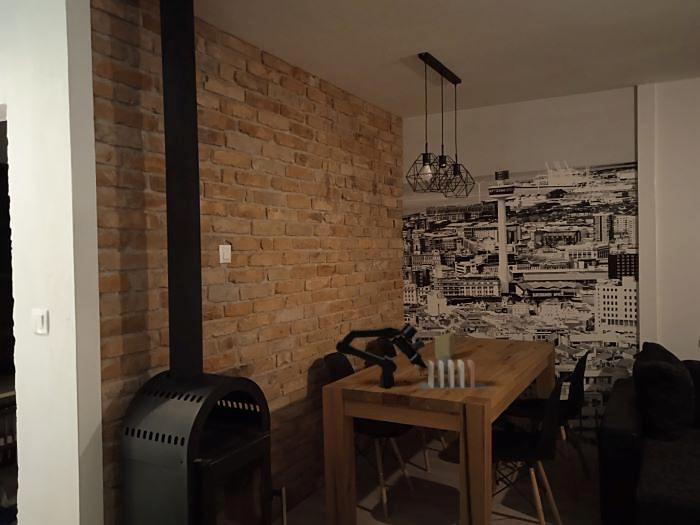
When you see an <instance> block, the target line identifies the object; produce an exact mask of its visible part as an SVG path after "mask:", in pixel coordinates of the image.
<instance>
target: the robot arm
mask: <svg viewBox="0 0 700 525" xmlns="http://www.w3.org/2000/svg"><path fill="white" fill-rule="evenodd" d="M418 332H419V331H418V330H417V328H416V327H415V326H414V325H413V324H411V323H410V322H409V321H407V323H405V325H404V326H403V327H402V328H396V327H395V326H391V325H387V326H382V327H380V328H379V327H378V328H369V329H368V328H367V329H366V328H365V329H351V330H350V331H349V332H348V333H347V334H346V335H345V336H344V337H343V338H342V339H339V340H338V341H337V343H336V346H335V351H337V353H340V354H342V355H350V356H354V357H356V358H359V359H362V360H363V361H367V362H369V363H371V364H374V365H376V366H378V367H380V372H381V374H379V385H377V386H378V387H379V388H382V389H386V390H387V389H391V388H395V376H394V373H395V372H396V370H397V368H398V365H397V362H396V361H395V359H393V357H389V356H387V355H384V357H381V356H378V355H376V354H373V353H371V352H367V351H365V350H363V349H360V348H357V347H356V346H354V345H353V344H351V343H352V342H353V341H354V340H355V339H358V338H359V339H360V338H362V339H363V338H382V339H388V340H389V346H390V347H392V346H393V345H394V346H396V348H397V349H398V350H400V352H401V354H403V355H404V356H405V357H407V359H408V360H409V363H410V364H411V365H412V366H415V364H416V365H418V366H421V367H423V368H427V366H426V365H425V364H426V363H425V361H424V360H423V359H422V358H423V356H422V353H421V352H419V351H420V349H421V348H425V347H426V345H425V342H424V341H423V339H419V338H415V340H414V342H413V343H412V342H409V341H408V340H409V339H410V340H411V339H412V338H414V336H415V335H416V334H417V333H418Z"/></svg>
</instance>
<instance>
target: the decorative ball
mask: <svg viewBox="0 0 700 525" xmlns="http://www.w3.org/2000/svg"><path fill="white" fill-rule="evenodd" d="M438 360H442V362H443V363H444V375H445V374H446V375H448V360H452V362H453V363H454V364H455V361H454V360H453V358H452V357H449V356H446V355H443V356H440V357H439V358H438V359H436V362H435V365H436V367H437V370H438Z"/></svg>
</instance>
